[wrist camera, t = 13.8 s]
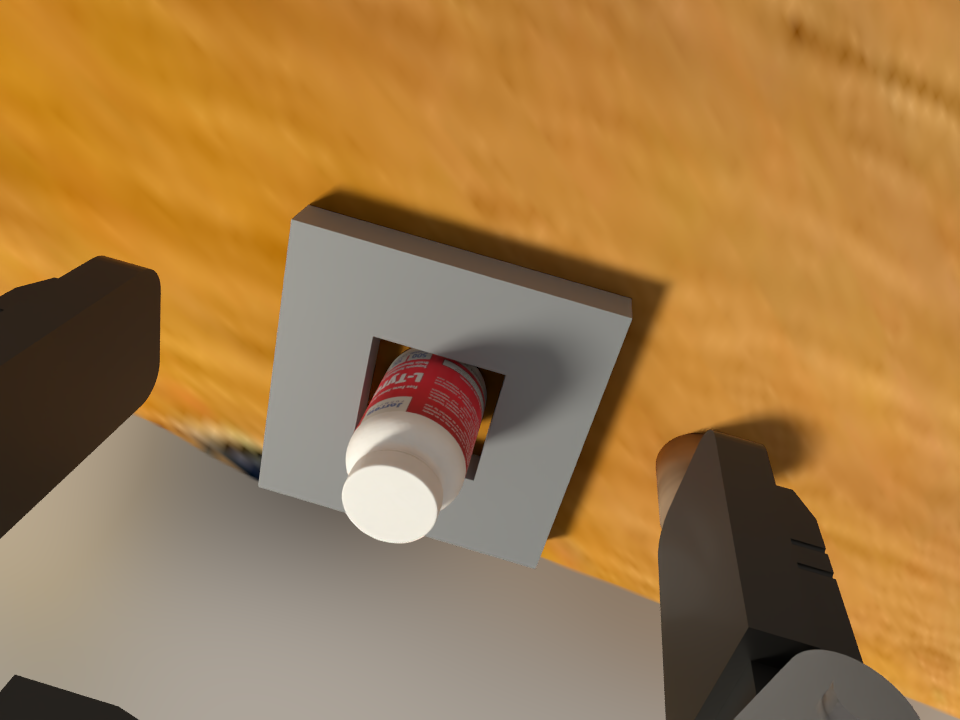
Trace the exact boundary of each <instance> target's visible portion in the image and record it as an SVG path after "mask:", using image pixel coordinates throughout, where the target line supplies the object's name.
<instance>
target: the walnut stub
mask: <svg viewBox="0 0 960 720" xmlns="http://www.w3.org/2000/svg"><path fill="white" fill-rule="evenodd" d="M703 435H704V434H700V433H692V434H685V435H682V436H678V437H676V438H674V439H672V440H671V441H669V442H668V443H667V444H665V445H664V447H663V448H662V449H661V450H660V452H659V454H658V456H657V459H656V476H657V489H658V502H659V515H660V525H661V528H662V527H663V523H664V520H665V517H666V515H667V512H668V510H669V508H670V505H671V503H672V501H673V499H674V497H675V494H676V492H677V490H678V488H679V486H680V484H681V481H682V479H683V477H684V475H685V473H686V470H687V468H688V466H689V464H690V462H691V459H692V457H693V455H694V453H695V451H696V448H697V446H698V444H699V442H700V440H701V438H702V437H703Z"/></svg>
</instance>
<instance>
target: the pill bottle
mask: <svg viewBox="0 0 960 720" xmlns="http://www.w3.org/2000/svg"><path fill="white" fill-rule="evenodd" d="M486 400H487V391H486V385H485V382H484V379H483V377H482V375H481V373H480V371H479V370H478V368H477V367H476V366H473V365H469V364H466V363H463V362H459V361H456V360H452V359H449V358H446V357H442V356H439V355H435V354H432V353H428V352H425V351H422V350H418V349H415V348H411V349H409V350H407V351H405V352H404V353H402V354H401V355H400V356H398V357H397V358H396V359H395V360H394V361H393V363H392V364H391V365H390V367H389V369H388V370H387V372H386V374H385V376H384V377H383V379H382V381H381V383H380V385H379V387H378V389H377V390H376V392H375V394H374V396H373V398H372V400H371V402H370V403H369V405H368V407H367V409H366V411H365V413H364V415H363V417H362V418H361V420H360V422H359V424H358V426H357V427H356V429H355V431H354V433H353V435H352V437H351V439H350V442H349V444H348V447H347V451H346V469H347V473H348V477H347V479H346V481H345V484H344V486H343V490H342V503H343V506H344V509H345V512H346V513H347V515H348V517H349V518H350V520H351V521H352V522H353V523H354V525H356V526H357V527H358V528H359V529H360V530H361V531H363V532H364V533H366V534H367V535H369V536H371V537H373V538H375V539H378V540H381V541H384V542H390V543H407V542H412V541H415V540H417V539H420V538H422V537H423V536H425V535H426V534H427V533H428V532H429V531H430V530H431V529H432V528H433V526H434V525H435V523H436V520H437V518H438V515H439V512H440V511H441V510H443V509H444V508H445V507H447V506H448V505H449V504H450V503H451V502H452V501H453V500H454V499H455V498H456V496H457V495H458V494H459V492H460V490H461V488H462V485H463V482H464V480H465V477H466V473H467V470H468V466H469V463H470V459H471V455H472V452H473V448H474V445H475V441H476V438H477V435H478V431H479V428H480V424H481V421H482V418H483V414H484V411H485V406H486Z"/></svg>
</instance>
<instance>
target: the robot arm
mask: <svg viewBox="0 0 960 720" xmlns="http://www.w3.org/2000/svg"><path fill="white" fill-rule="evenodd" d="M160 301H161V286H160V280H159V277H158V275H157V273H156V272H155V271H154V270H152V269H148V268H145V267H141V266H138V265H134V264H131V263H127V262H124V261H120V260H117V259H113V258H109V257H106V256H97V257H95V258H93V259H91V260H89V261H87V262H86V263H84V264H82V265H81V266H79V267H77V268H75V269H74V270H72V271H70V272H69V273H67V274H65V275H63V276H62V277H60V278H51V279H48V280H44V281H40V282H36V283H32V284H28V285H25V286H21V287H17V288H14V289H13V290H11V291H9V292H7V293H5V294H4V295H2V296H0V538H1V537H2V536H4V535H5V534H6V533H7V532H8V531H9V530H10V529H11V528H12V527H13V526H14V525H15V524H16V523H17V522H18V521H19V520H21V519H22V518H23V516H25V515H26V514H27V513H28V512H29V511H30V510H31V509H32V508H33V507H34V506H35V505H36V504H37V503H38V502H40V501H41V500H42V499H43V498H44V497H45V496H46V495H47V494H48V493H49V492H50V491H51V490H52V489H53V488H54V487H56V486H57V484H59V483H60V482H61V481H62V480H63V479H64V478H65V477H66V476H67V475H68V474H69V473H70V472H71V471H73V470H74V469H75V468H76V467H77V466H78V465H79V464H80V463H81V462H82V461H83V460H84V459H85V458H86V457H87V456H88V455H90V454H91V453H92V452H93V451H94V450H95V449H96V448H97V447H98V446H99V445H100V444H101V443H102V442H103V441H104V440H105V439H106V438H108V437H109V436H110V435H111V434H112V433H113V432H114V431H115V430H116V429H117V428H118V427H119V426H120V425H121V424H122V423H123V422H125V421H126V420H127V419H128V418H129V417H130V416H131V415H132V414H133V413H134V412H135V411H136V410H137V409H138V408H139V407H140V406H141V405H142V404H143V403H144V402H145V401H146V400H147V398H148V397H149V395H150V393H151V391H152V389H153V387H154V385H155V382H156V379H157V375H158V371H159V363H160ZM825 549H826V548H825V545H824V542H823V539H822V536H821V533H820V529H819V526H818V523H817V520H816V519H815V517H814V516H813V515H812V513H811V512H810V511H809V510H808V508H807V507H806V506H805V505H804V503H803V502H802V501H801V500H800V498H799V497H798V496H797V495H796V493H795V492H794V491H793V490H791V489H787V488H784V487H780V486H777V485H776V484H775V480H774V476H773V473H772V469H771V465H770V462H769V458H768V454H767V451H766V448H765V446H764V445H762V444H760V443H756V442H753V441H749V440H746V439H742V438H738V437H735V436H731V435H728V434H724V433H721V432H717V431H714V430H708V431H707V432H706V433H705V434H704V435H703V437H702V438H701V440H700V442H699V444H698V446H697V448H696V451H695V453H694V455H693V457H692V459H691V462H690V464H689V466H688V468H687V470H686V473H685V475H684V477H683V479H682V481H681V484H680V486H679V488H678V490H677V492H676V494H675V497H674V499H673V501H672V503H671V505H670V508H669V510H668V512H667V515H666V517H665V520H664V523H663V527H662V531H661V535H660V541H659V548H658V565H659V586H660V607H661V628H662V647H663V648H662V649H663V670H664V691H665V712H666V720H920V718H919V716H918V715H917V713H916V712H915V710H914V709H913V707H912V706H911V704H910V703H909V702H908V701H907V699H906V698H905V697H904V696H903V695H902V694H901V693H900V692H899V691H898V690H897V689H896V688H895V687H894V686H893V685H892V684H891V683H890V682H889V681H888V680H886V679H885V678H884V677H883V676H882V675H880V674H879V673H877V672H876V671H874V670H873V669H871V668H870V667H868V666H867V665H865V664H863V661H862V658H861V655H860V652H859V649H858V646H857V643H856V640H855V637H854V634H853V631H852V627H851V624H850V621H849V618H848V615H847V612H846V609H845V606H844V603H843V600H842V597H841V594H840V591H839V588H838V585H837V582H836V579H833V573H834V572H833V569H832V566H831V563H830V560H829V557H828V554H825ZM0 720H138V719H137V718H135V717H134V716H132V715H131V714H129V713H128V712H126V711H125V710H123V709H121V708H120V707H118V706H115V705H112V704H109V703H105V702H102V701H99V700H96V699H92V698H89V697H85V696H82V695H79V694H76V693H73V692H70V691H66V690H63V689H59V688H57V687H53V686H50V685H47V684H44V683H40V682H37V681H34V680H30V679H27V678H24V677H21V676H17V675H14V676H13V677H12V679H11V680H10V681H9V682H8V683H7V685H6V686H5V687H4V688H3V689H2V690H1V692H0Z"/></svg>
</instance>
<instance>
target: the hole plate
mask: <svg viewBox="0 0 960 720" xmlns="http://www.w3.org/2000/svg"><path fill="white" fill-rule="evenodd" d="M631 321H632V299H631V298H628V297H624V296H621V295H617V294H614V293H610V292H607V291H603V290H600V289H597V288H593V287H590V286H586V285H583V284H579V283H576V282H572V281H569V280H566V279H562V278H559V277H555V276H552V275H548V274H545V273H542V272H538V271H535V270H531V269H528V268H524V267H521V266H517V265H514V264H511V263H507V262H504V261H500V260H497V259H493V258H490V257H486V256H483V255H480V254H476V253H473V252H469V251H466V250H462V249H459V248H455V247H452V246H449V245H445V244H442V243H438V242H435V241H431V240H428V239H424V238H421V237H418V236H414V235H411V234H407V233H404V232H400V231H397V230H394V229H390V228H387V227H383V226H380V225H376V224H373V223H369V222H366V221H363V220H359V219H356V218H352V217H349V216H345V215H342V214H338V213H335V212H332V211H328V210H325V209H321V208H318V207H314V206H311V205H308V206H307V207H305V208H304V209H303V210H302V211H301V212H300V213H298V214H297V215H296V216H295V217H294V218H292V219H291V227H290V235H289V243H288V251H287V259H286V267H285V276H284V284H283V292H282V300H281V308H280V316H279V324H278V332H277V340H276V348H275V356H274V364H273V372H272V380H271V388H270V396H269V404H268V412H267V420H266V428H265V436H264V444H263V452H262V460H261V468H260V477H259V485H258V487H261V488H264V489H268V490H271V491H274V492H278V493H281V494H284V495H288V496H291V497H295V498H298V499H302V500H305V501H308V502H311V503H315V504H318V505H321V506H325V507H328V508H332V509H335V510H338V511H342V512H345V509H344V506H343V503H342V490H343V486H344V484H345V481H346V479H347V477H348V473H347V469H346V451H347V447H348V444H349V442H350V439H351V437H352V435H353V433H354V431H355V429H356V427H357V426H358V424H359V422H360V420H361V418H362V417H363V415H364V413H365V411H366V408H367V403H368V398H369V393H370V388H371V384H372V379H373V374H374V369H375V364H376V359H377V354H378V349H379V344H380V339H384V340H388V341H391V342H394V343H398V344H401V345H405V346H408V347H411V348H415V349H418V350H422V351H425V352H428V353H432V354H435V355H439V356H442V357H446V358H449V359H452V360H456V361H459V362H463V363H466V364H469V365H473V366H476V367H480V368H483V369H486V370H490V371H493V372H497V373H500V374H504V375H505V377H504V380H503V383H502V387H501V390H500V393H499V397H498V400H497V403H496V406H495V410H494V413H493V416H492V420H491V423H490V426H489V429H488V433H487V436H486V439H485V442H484V446H483V449H482V452H481V456H478V455H475V454H472V455H471V459H470V463H469V466H468V470H467V473H466V477H465V480H464V482H463V485H462V488H461V490H460V492H459V494H458V495H457V496H456V498H455V499H454V500H453V501H452V502H451V503H450V504H449V505H448V506H447V507H445V508H444V509H443V510H441V511H440V512H439V515H438V518H437V520H436V523H435V525H434V526H433V528H432V529H431V530H430V531H429V532H428V533H427V534H426V535H425V536H426V537H429V538H433V539H436V540H439V541H442V542H446V543H449V544H452V545H456V546H459V547H463V548H466V549H469V550H473V551H477V552H480V553H483V554H486V555H489V556H493V557H496V558H500V559H503V560H506V561H510V562H513V563H517V564H520V565H523V566H527V567H530V568H533V569H536V566H537V564H538V561H539V558H540V556H541V553H542V551H543V548H544V546H545V543H546V540H547V538H548V535H549V533H550V530H551V527H552V525H553V522H554V520H555V517H556V515H557V512H558V509H559V507H560V504H561V502H562V499H563V496H564V494H565V491H566V489H567V486H568V484H569V481H570V478H571V476H572V473H573V471H574V468H575V465H576V463H577V460H578V458H579V455H580V453H581V450H582V447H583V445H584V442H585V440H586V437H587V434H588V432H589V429H590V427H591V424H592V422H593V419H594V416H595V414H596V411H597V409H598V406H599V403H600V401H601V398H602V396H603V393H604V390H605V388H606V385H607V383H608V380H609V378H610V375H611V372H612V370H613V367H614V365H615V362H616V359H617V357H618V354H619V352H620V349H621V347H622V344H623V341H624V339H625V336H626V334H627V331H628V328H629V326H630V323H631ZM345 513H346V512H345Z"/></svg>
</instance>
